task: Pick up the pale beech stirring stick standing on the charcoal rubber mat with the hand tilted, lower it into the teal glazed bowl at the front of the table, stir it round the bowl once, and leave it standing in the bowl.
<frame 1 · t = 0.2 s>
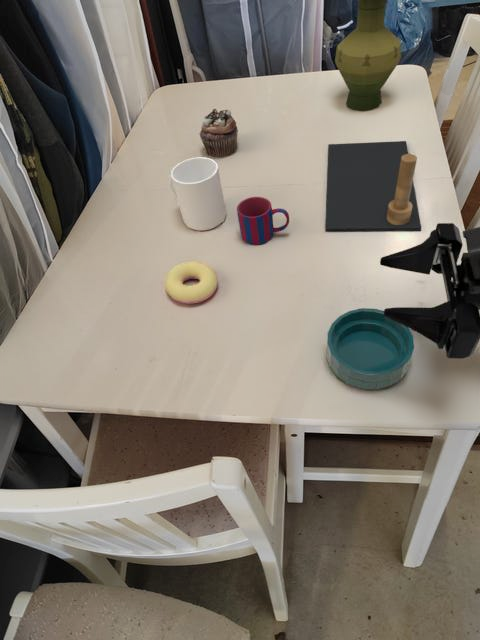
hand: (382, 285, 58), 15 cm above the table, tool horizontal, fingers open, 9 cm apart
cup: (265, 236, 90), on the table
mat: (368, 184, 97), on the table
cupcake: (221, 150, 114), on the table
bowl: (366, 357, 68), on the table
donut: (193, 288, 83), on the table
stick: (398, 218, 87), point 1 cm above the table, touching mat
mug: (200, 218, 97), on the table
vase: (363, 103, 120), on the table
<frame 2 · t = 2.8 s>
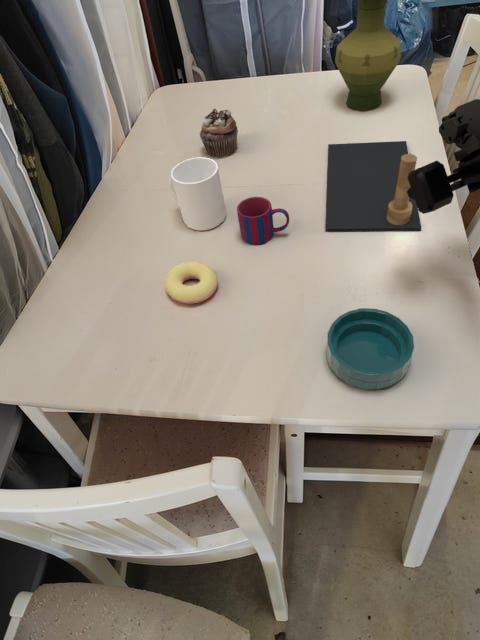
hand: (431, 183, 71), 14 cm above the table, tool tilted 50°, fingers open, 9 cm apart
nothing on the table moved.
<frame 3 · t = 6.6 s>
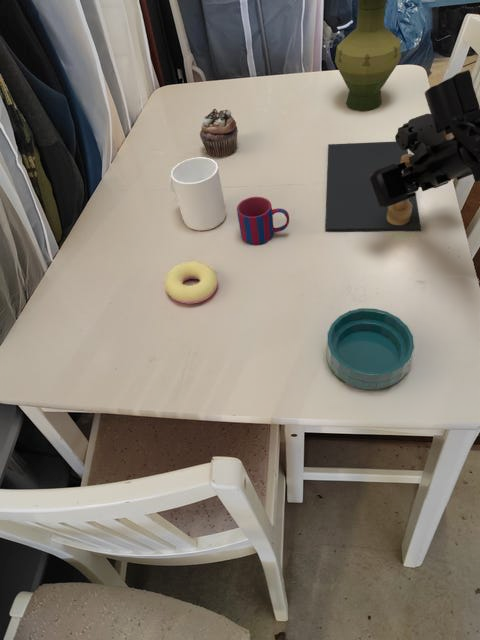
hand: (398, 185, 83), 7 cm above the table, tool tilted 45°, fingers closed on stick, 2 cm apart
stick: (398, 218, 87), point 1 cm above the table, touching gripper, mat
everything else where it was.
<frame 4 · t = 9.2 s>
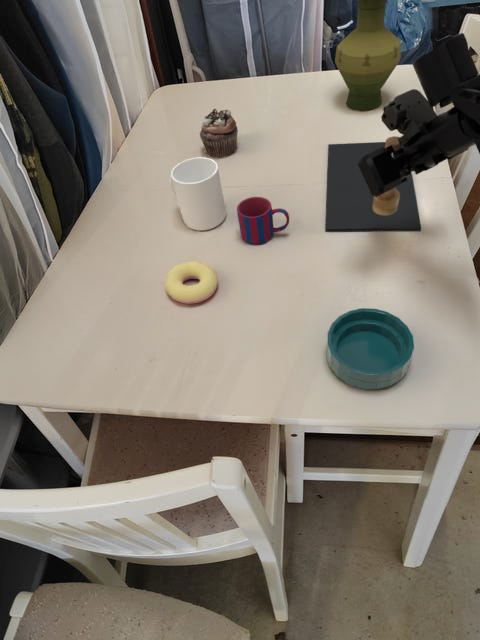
hand: (383, 172, 76), 13 cm above the table, tool tilted 45°, fingers closed on stick, 2 cm apart
stick: (384, 208, 80), point 7 cm above the table, touching gripper
everything else where it was.
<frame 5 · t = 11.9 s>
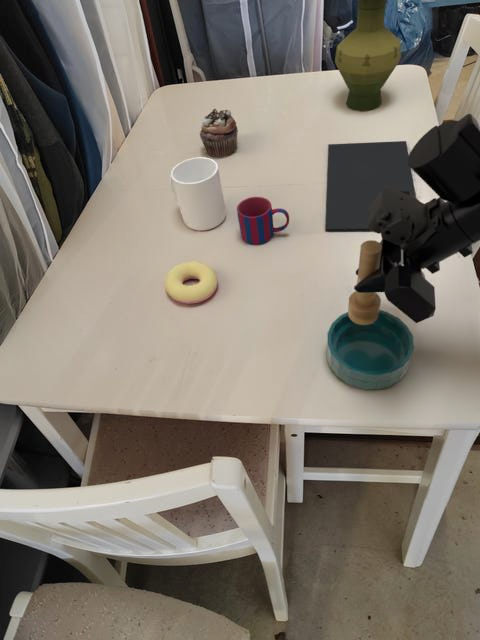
hand: (356, 282, 61), 13 cm above the table, tool tilted 45°, fingers closed on stick, 2 cm apart
stick: (363, 313, 65), point 7 cm above the table, touching gripper
everything else where it was.
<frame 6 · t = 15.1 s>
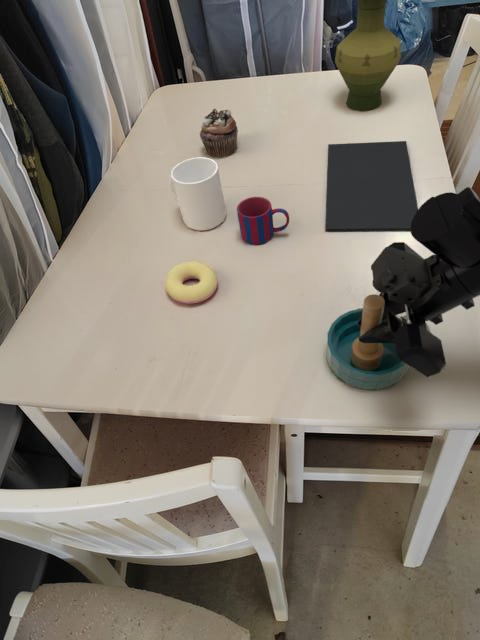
hand: (360, 332, 62), 8 cm above the table, tool tilted 45°, fingers closed on stick, 2 cm apart
stick: (365, 359, 67), point 1 cm above the table, touching gripper
everything else where it was.
when the fingers open (7 cm above the table, at t = 17.3 s): stick stays where it is, resting on bowl.
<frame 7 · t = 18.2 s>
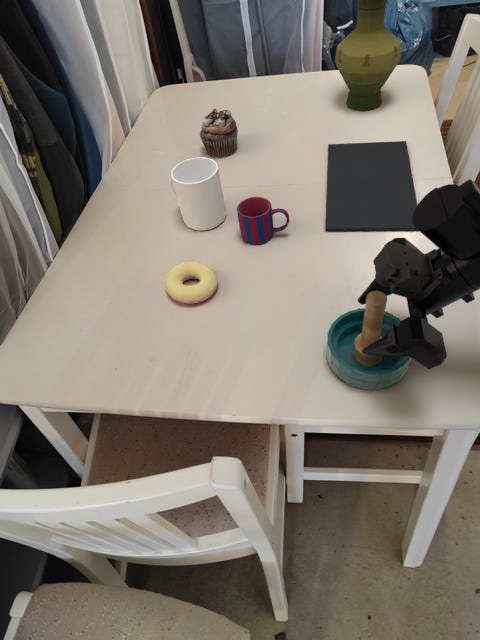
hand: (361, 326, 63), 8 cm above the table, tool tilted 45°, fingers open, 9 cm apart
stick: (367, 355, 68), point 1 cm above the table, touching bowl
everything else where it was.
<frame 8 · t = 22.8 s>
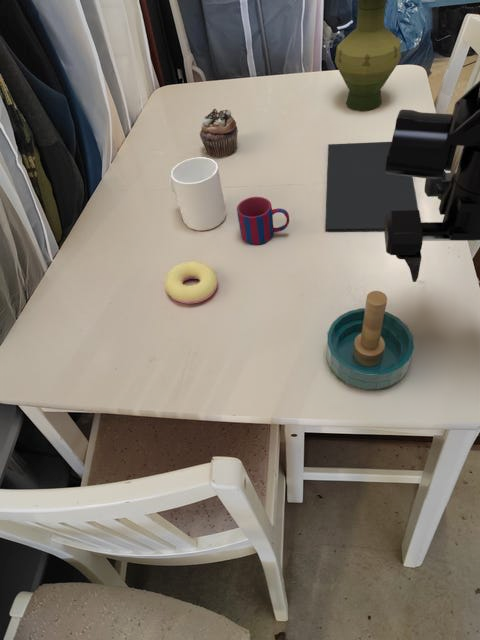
hand: (449, 280, 60), 12 cm above the table, tool pointing down, fingers open, 9 cm apart
nothing on the table moved.
at the end: stick inside the target area in the bowl (0.0 cm from its centre), point 0.6 cm above the bowl's base; stick touching bowl; stick tilted 0° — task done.
